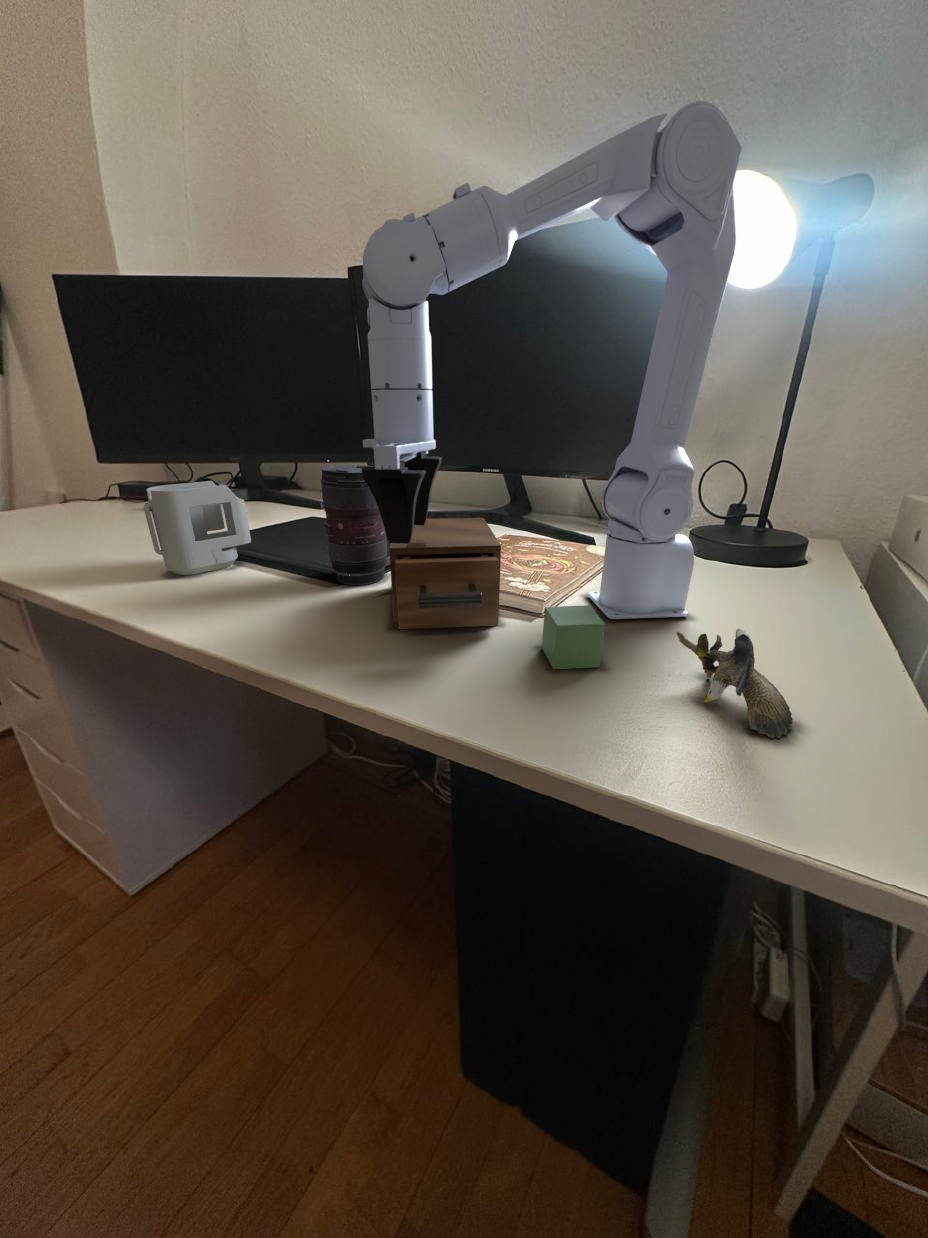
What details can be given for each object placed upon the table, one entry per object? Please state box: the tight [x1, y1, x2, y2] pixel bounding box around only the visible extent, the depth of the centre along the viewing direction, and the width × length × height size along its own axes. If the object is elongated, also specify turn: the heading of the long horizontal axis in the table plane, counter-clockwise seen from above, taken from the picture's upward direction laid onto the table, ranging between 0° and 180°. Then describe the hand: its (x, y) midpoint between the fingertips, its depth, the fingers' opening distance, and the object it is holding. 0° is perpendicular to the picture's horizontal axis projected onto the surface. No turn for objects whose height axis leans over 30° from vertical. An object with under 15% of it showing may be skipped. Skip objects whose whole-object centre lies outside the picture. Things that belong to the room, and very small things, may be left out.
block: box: [541, 604, 606, 670], centre depth 47 cm, size 4×4×4 cm
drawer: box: [395, 553, 498, 630], centre depth 54 cm, size 17×10×7 cm, turn 6°
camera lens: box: [320, 464, 388, 586], centre depth 66 cm, size 8×8×15 cm
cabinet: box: [388, 517, 502, 629], centre depth 59 cm, size 14×12×9 cm
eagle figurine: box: [676, 627, 793, 739], centre depth 40 cm, size 8×7×9 cm
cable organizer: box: [143, 480, 252, 576], centre depth 71 cm, size 7×12×12 cm, turn 134°
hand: (408, 532), depth 52 cm, fingers open, 7 cm apart
